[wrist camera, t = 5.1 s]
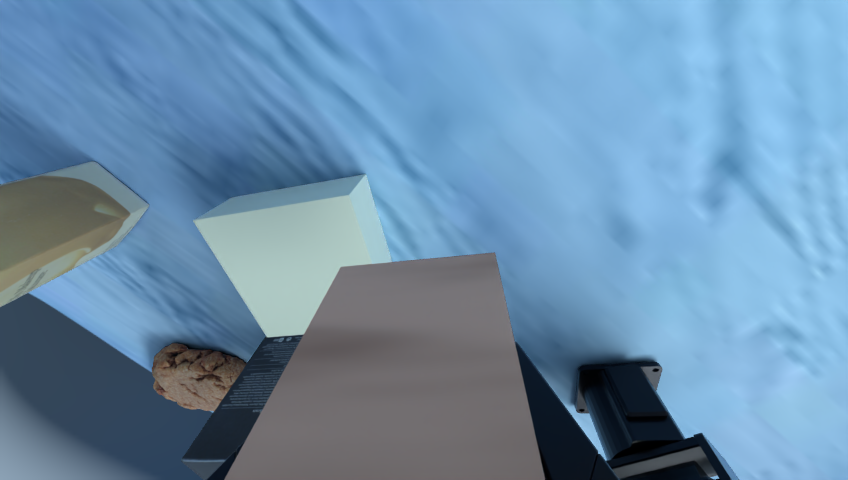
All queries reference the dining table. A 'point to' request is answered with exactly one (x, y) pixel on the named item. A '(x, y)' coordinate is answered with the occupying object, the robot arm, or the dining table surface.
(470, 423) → the terracotta block
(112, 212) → the skincare box
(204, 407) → the cookie
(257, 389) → the box
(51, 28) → the dining table surface
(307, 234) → the sage base block
